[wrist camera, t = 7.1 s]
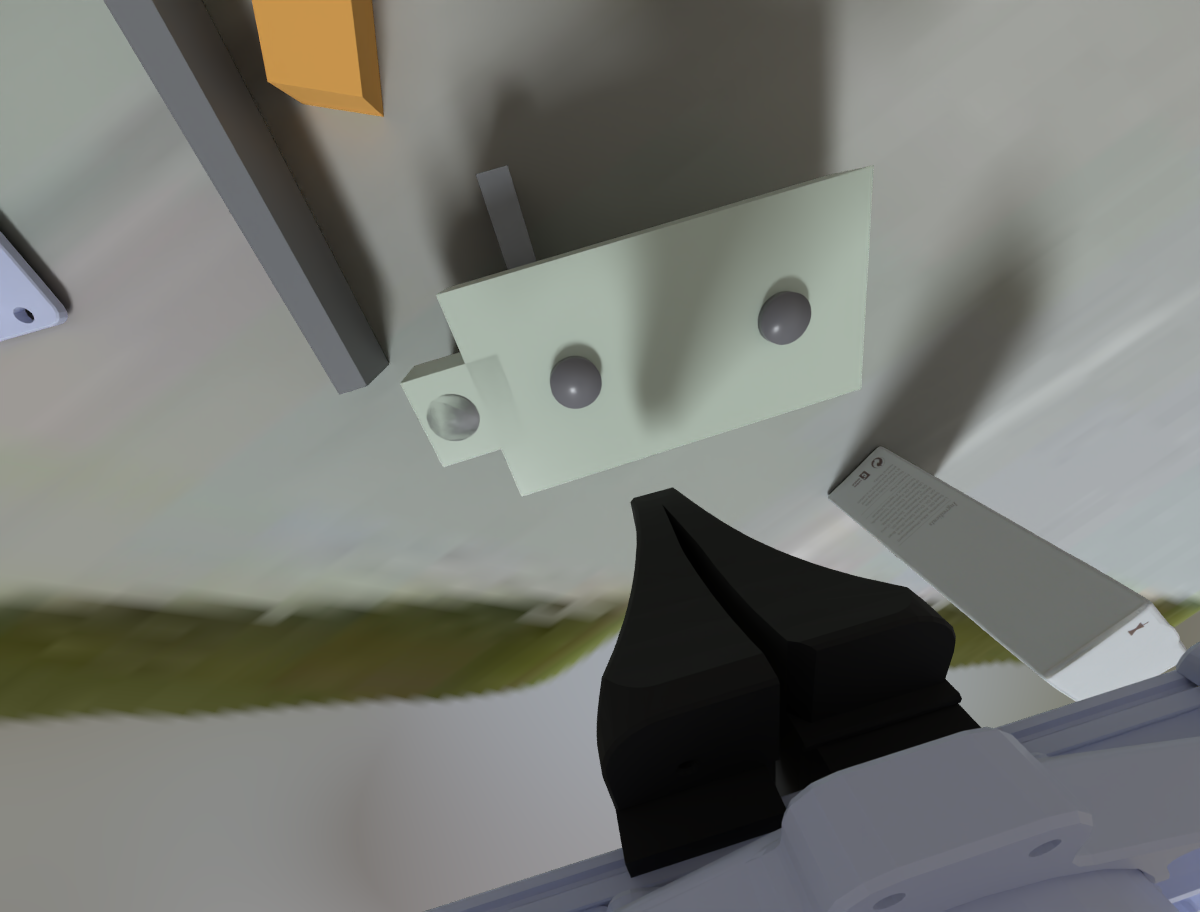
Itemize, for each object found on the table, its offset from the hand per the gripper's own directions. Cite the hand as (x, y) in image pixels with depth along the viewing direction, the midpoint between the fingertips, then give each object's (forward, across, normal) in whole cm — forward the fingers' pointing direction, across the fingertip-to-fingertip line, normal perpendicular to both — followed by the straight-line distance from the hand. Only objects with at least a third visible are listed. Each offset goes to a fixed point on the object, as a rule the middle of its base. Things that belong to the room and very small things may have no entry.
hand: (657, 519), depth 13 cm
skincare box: (+9, -15, +10) cm, 20 cm away
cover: (+8, -1, -4) cm, 9 cm away
